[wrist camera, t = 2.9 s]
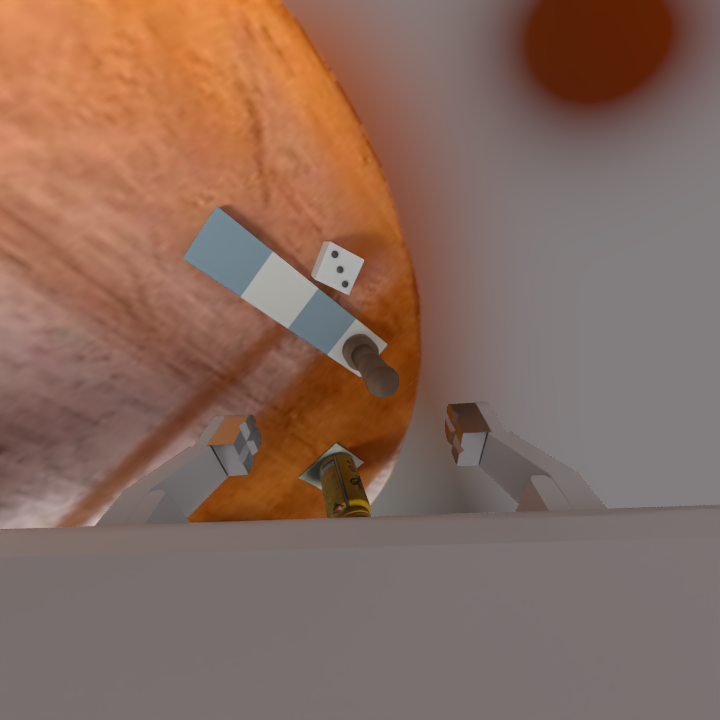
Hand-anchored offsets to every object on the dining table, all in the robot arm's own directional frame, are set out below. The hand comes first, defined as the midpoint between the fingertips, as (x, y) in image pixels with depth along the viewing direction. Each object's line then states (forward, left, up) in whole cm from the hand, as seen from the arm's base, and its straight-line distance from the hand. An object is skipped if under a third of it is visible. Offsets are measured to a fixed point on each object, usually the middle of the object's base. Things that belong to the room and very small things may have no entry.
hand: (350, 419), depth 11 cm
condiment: (-19, -20, -23) cm, 36 cm away
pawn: (0, -9, -22) cm, 24 cm away
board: (0, 0, -23) cm, 23 cm away
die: (+6, 0, -23) cm, 24 cm away
